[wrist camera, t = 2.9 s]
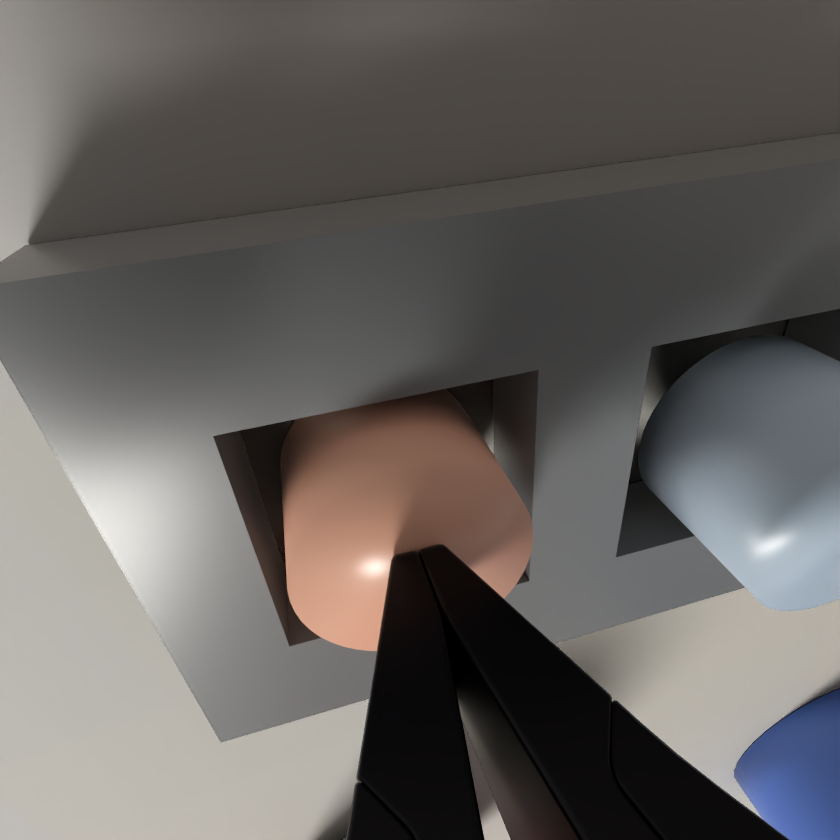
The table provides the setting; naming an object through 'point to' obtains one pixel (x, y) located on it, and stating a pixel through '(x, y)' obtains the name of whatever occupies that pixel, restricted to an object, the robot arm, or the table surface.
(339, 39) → the table surface
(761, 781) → the water bottle
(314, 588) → the terracotta button
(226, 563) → the button panel
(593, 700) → the robot arm
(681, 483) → the blue button
